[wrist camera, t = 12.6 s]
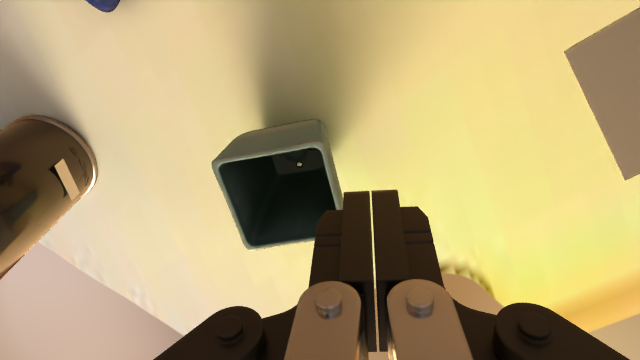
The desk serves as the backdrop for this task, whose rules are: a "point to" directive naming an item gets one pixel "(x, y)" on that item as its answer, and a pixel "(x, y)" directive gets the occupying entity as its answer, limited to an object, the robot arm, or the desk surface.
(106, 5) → the eraser
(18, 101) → the desk surface
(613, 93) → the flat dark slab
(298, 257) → the desk surface
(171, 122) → the desk surface
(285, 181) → the flower pot
